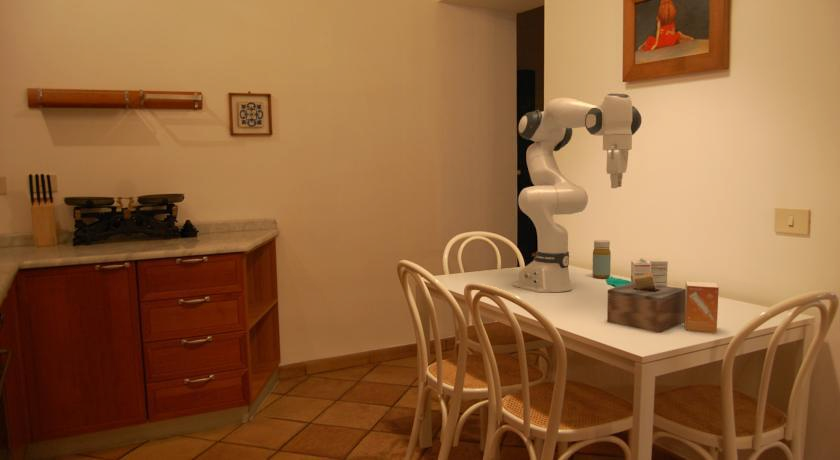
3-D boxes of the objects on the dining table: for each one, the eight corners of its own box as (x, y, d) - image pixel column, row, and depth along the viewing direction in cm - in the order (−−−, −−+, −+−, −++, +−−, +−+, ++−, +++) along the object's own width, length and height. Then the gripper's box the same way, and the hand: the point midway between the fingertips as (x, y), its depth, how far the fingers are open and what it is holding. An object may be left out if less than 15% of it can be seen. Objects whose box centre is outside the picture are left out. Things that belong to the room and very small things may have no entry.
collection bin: (607, 322, 173) (607, 289, 172) (633, 312, 184) (634, 281, 182) (659, 333, 161) (660, 298, 160) (685, 322, 172) (686, 289, 171)
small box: (685, 330, 163) (686, 285, 162) (683, 325, 169) (685, 280, 168) (717, 333, 160) (719, 287, 159) (714, 327, 166) (716, 282, 165)
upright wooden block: (638, 294, 171) (634, 279, 170) (638, 291, 174) (634, 276, 173) (656, 291, 169) (652, 276, 168) (656, 288, 172) (652, 273, 171)
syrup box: (651, 306, 191) (652, 262, 189) (632, 305, 192) (633, 262, 191) (648, 302, 197) (649, 260, 195) (629, 301, 198) (630, 259, 196)
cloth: (642, 294, 211) (642, 288, 211) (603, 292, 215) (603, 286, 215) (638, 280, 236) (638, 275, 236) (602, 279, 240) (602, 273, 240)
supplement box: (638, 291, 213) (639, 257, 211) (659, 291, 212) (660, 257, 211) (646, 296, 205) (646, 261, 204) (667, 296, 205) (668, 260, 204)
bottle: (593, 278, 239) (594, 242, 237) (591, 275, 246) (592, 239, 244) (611, 278, 238) (612, 242, 236) (608, 275, 244) (609, 239, 243)
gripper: (623, 143, 176) (622, 189, 178) (631, 144, 194) (630, 186, 196) (601, 144, 179) (601, 189, 181) (611, 145, 197) (610, 186, 199)
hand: (616, 187), depth 188 cm, fingers open, 8 cm apart
